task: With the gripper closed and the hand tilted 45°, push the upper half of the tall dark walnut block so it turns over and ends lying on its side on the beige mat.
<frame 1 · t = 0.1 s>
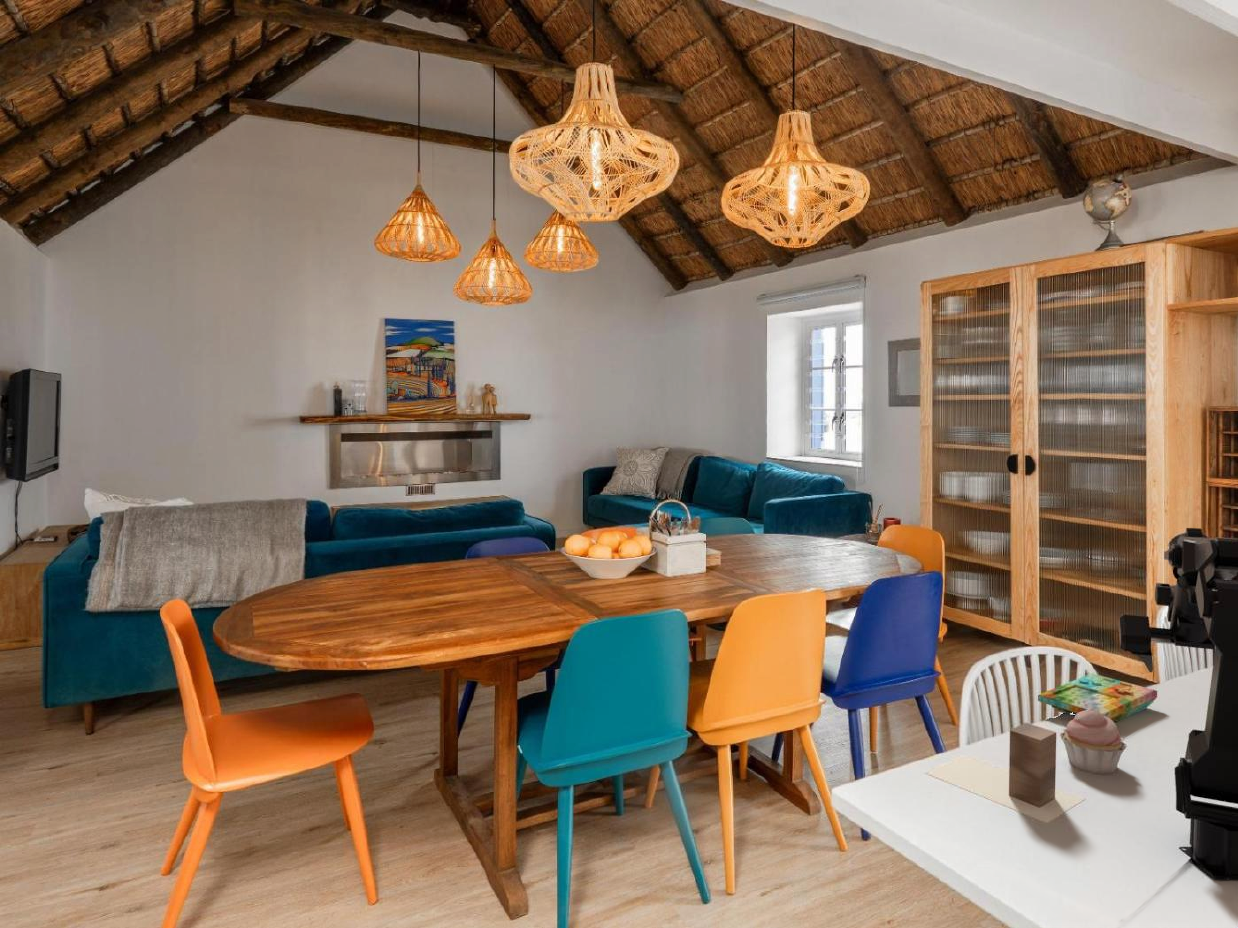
hand: (1185, 673, 126), 15 cm above the table, tool tilted 35°, fingers open, 9 cm apart
cupcake: (1091, 769, 127), on the table
puzzle game: (1097, 713, 150), on the table
beige mat: (1001, 789, 120), on the table
walnut block: (1031, 796, 117), point 1 cm above the table, touching beige mat
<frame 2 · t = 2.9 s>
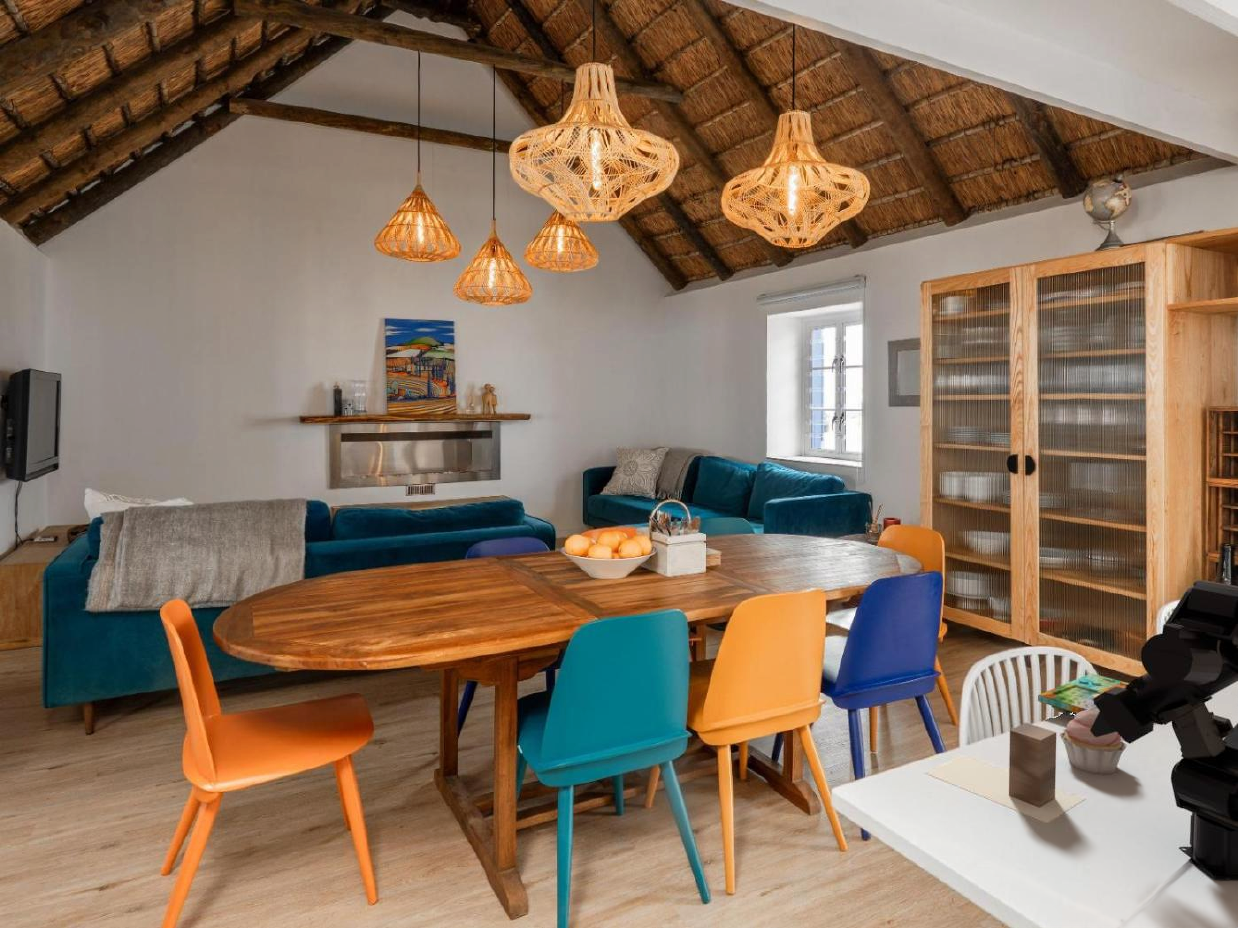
hand: (1097, 731, 108), 14 cm above the table, tool tilted 45°, fingers closed
nothing on the table moved.
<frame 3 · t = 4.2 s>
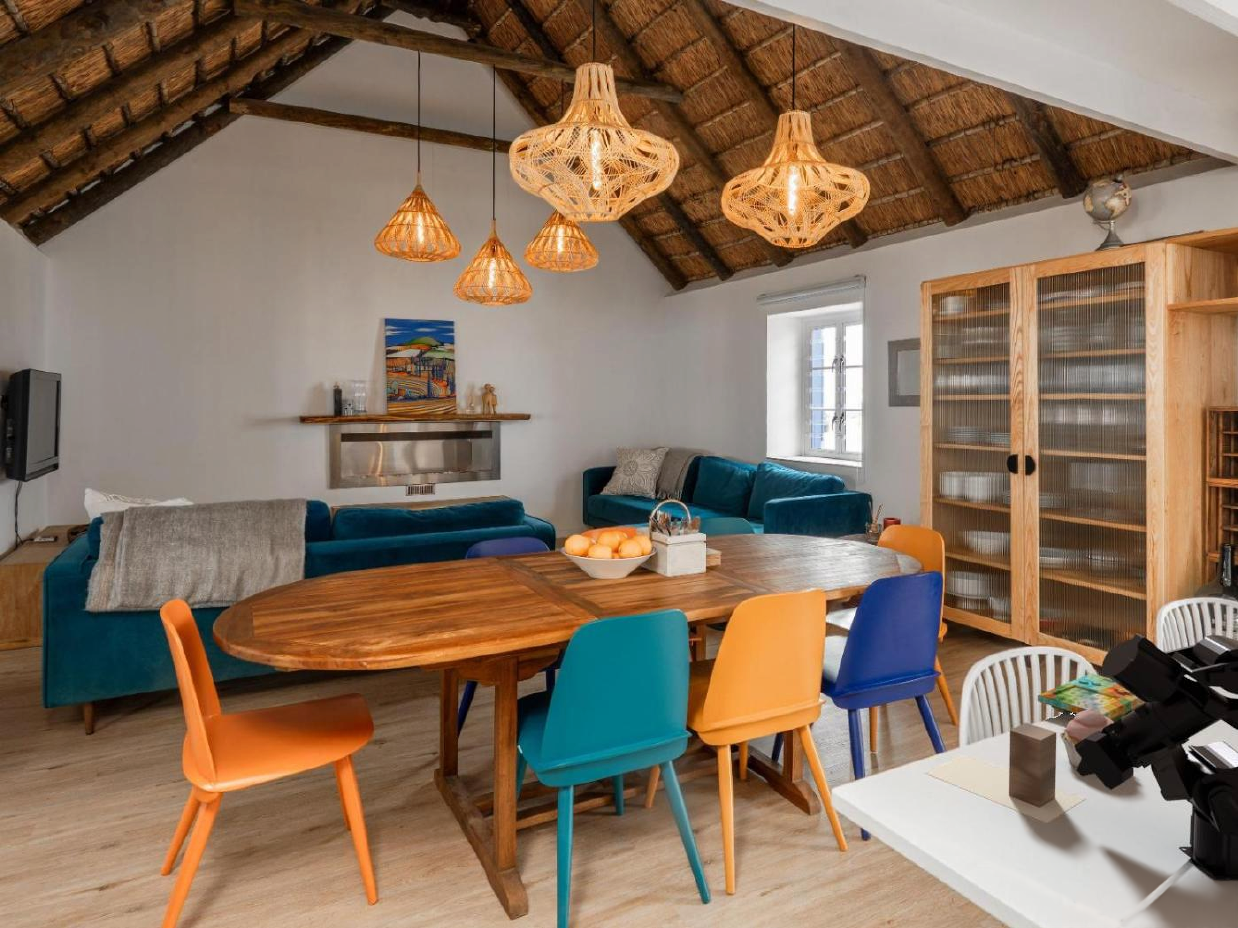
hand: (1080, 772, 110), 7 cm above the table, tool tilted 45°, fingers closed
nothing on the table moved.
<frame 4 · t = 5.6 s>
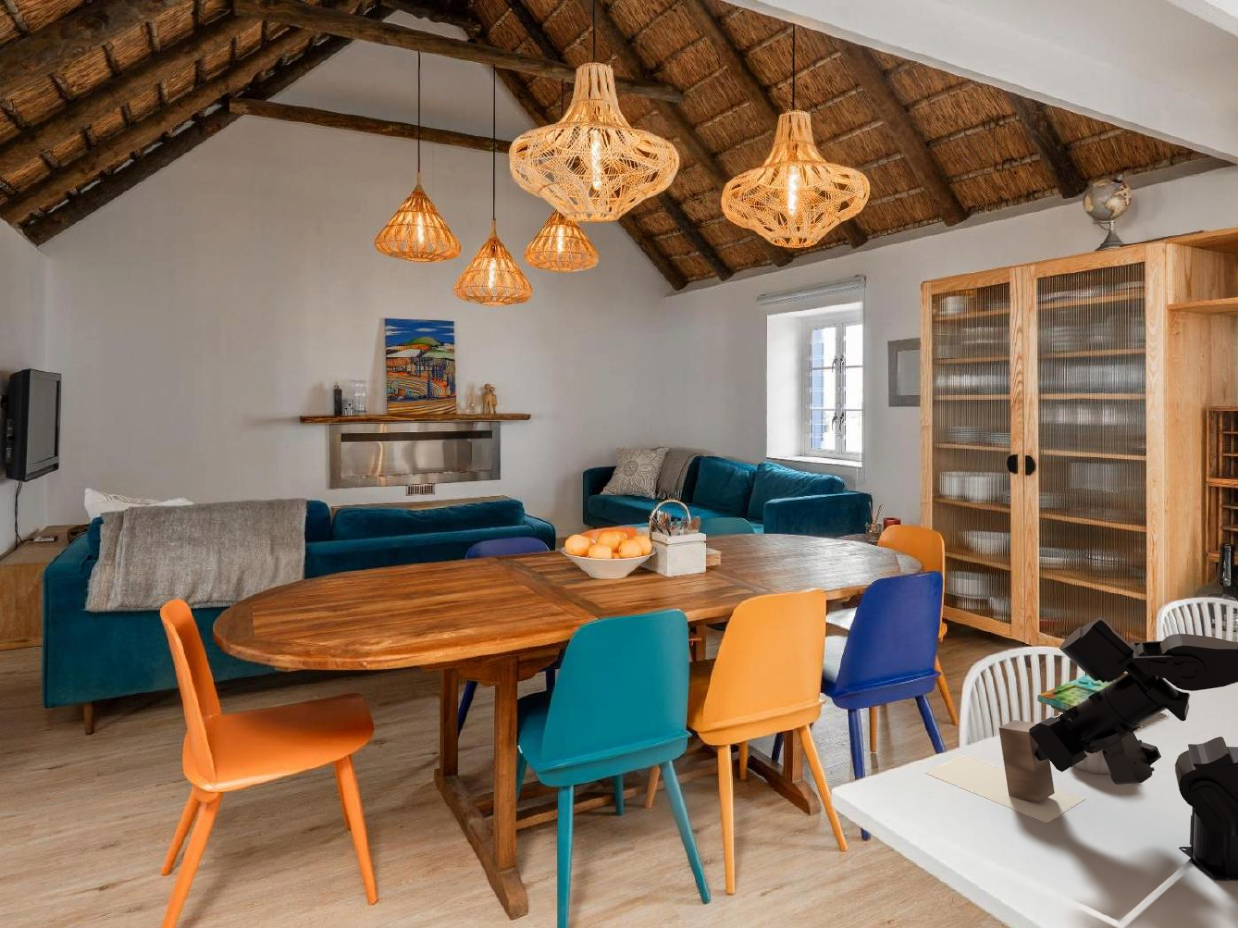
hand: (1038, 757, 114), 7 cm above the table, tool tilted 45°, fingers closed
walnut block: (1031, 794, 117), point 1 cm above the table, tilted 10°, touching beige mat
everything else where it was.
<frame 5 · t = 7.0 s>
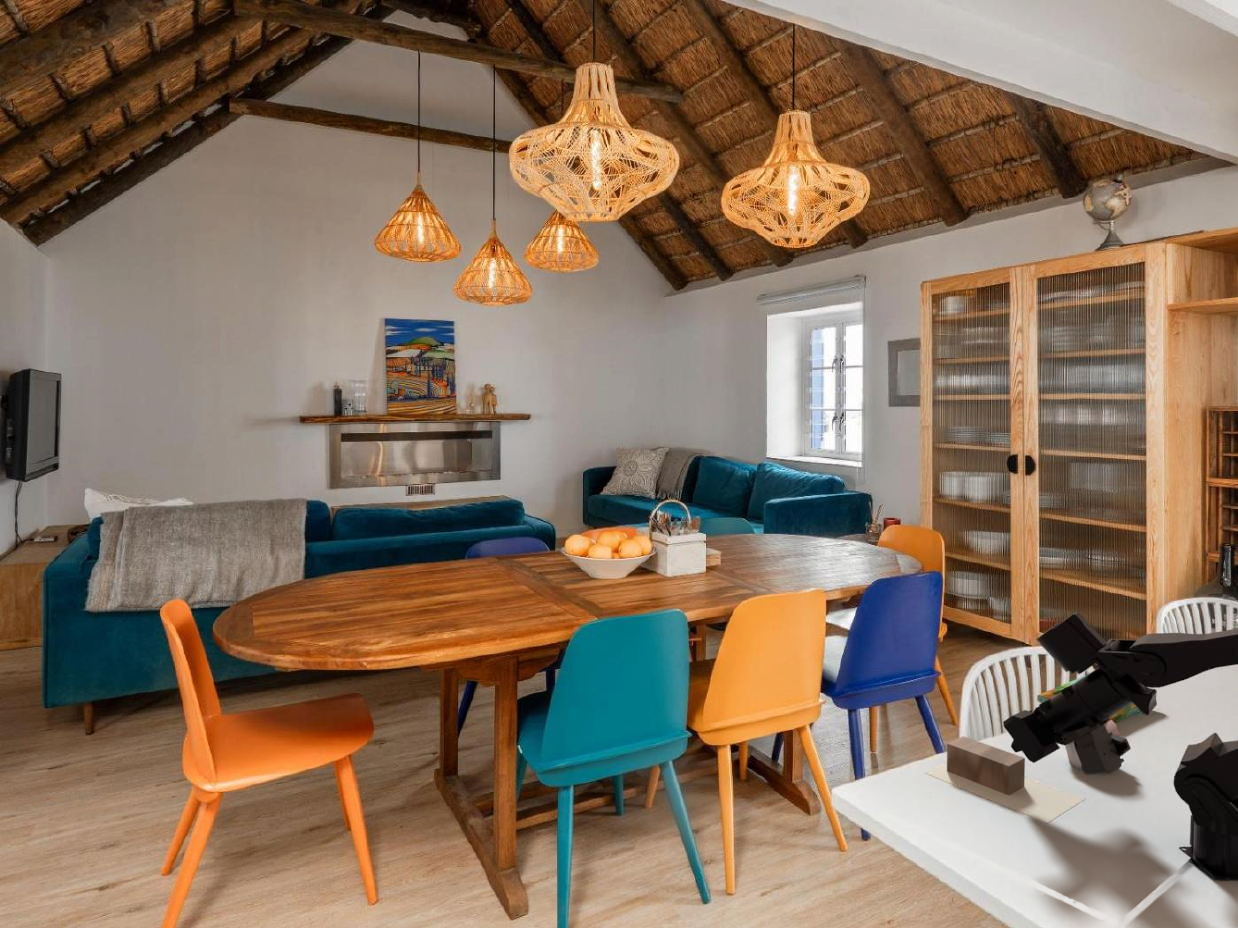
hand: (1014, 748, 119), 7 cm above the table, tool tilted 45°, fingers closed
walnut block: (1016, 776, 118), point 3 cm above the table, tilted 90°, touching beige mat
everything else where it was.
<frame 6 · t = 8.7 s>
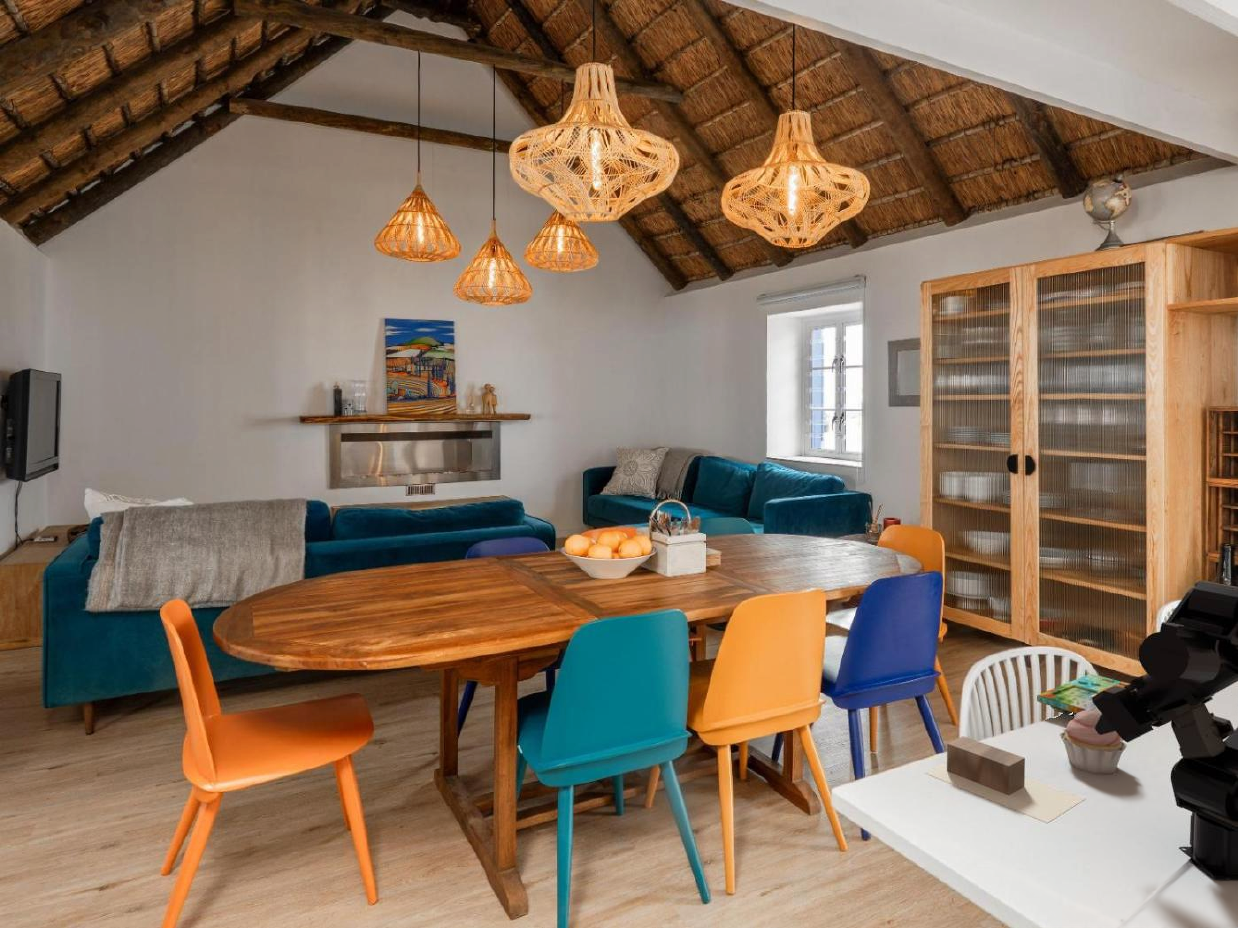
hand: (1098, 731, 109), 14 cm above the table, tool tilted 45°, fingers closed
nothing on the table moved.
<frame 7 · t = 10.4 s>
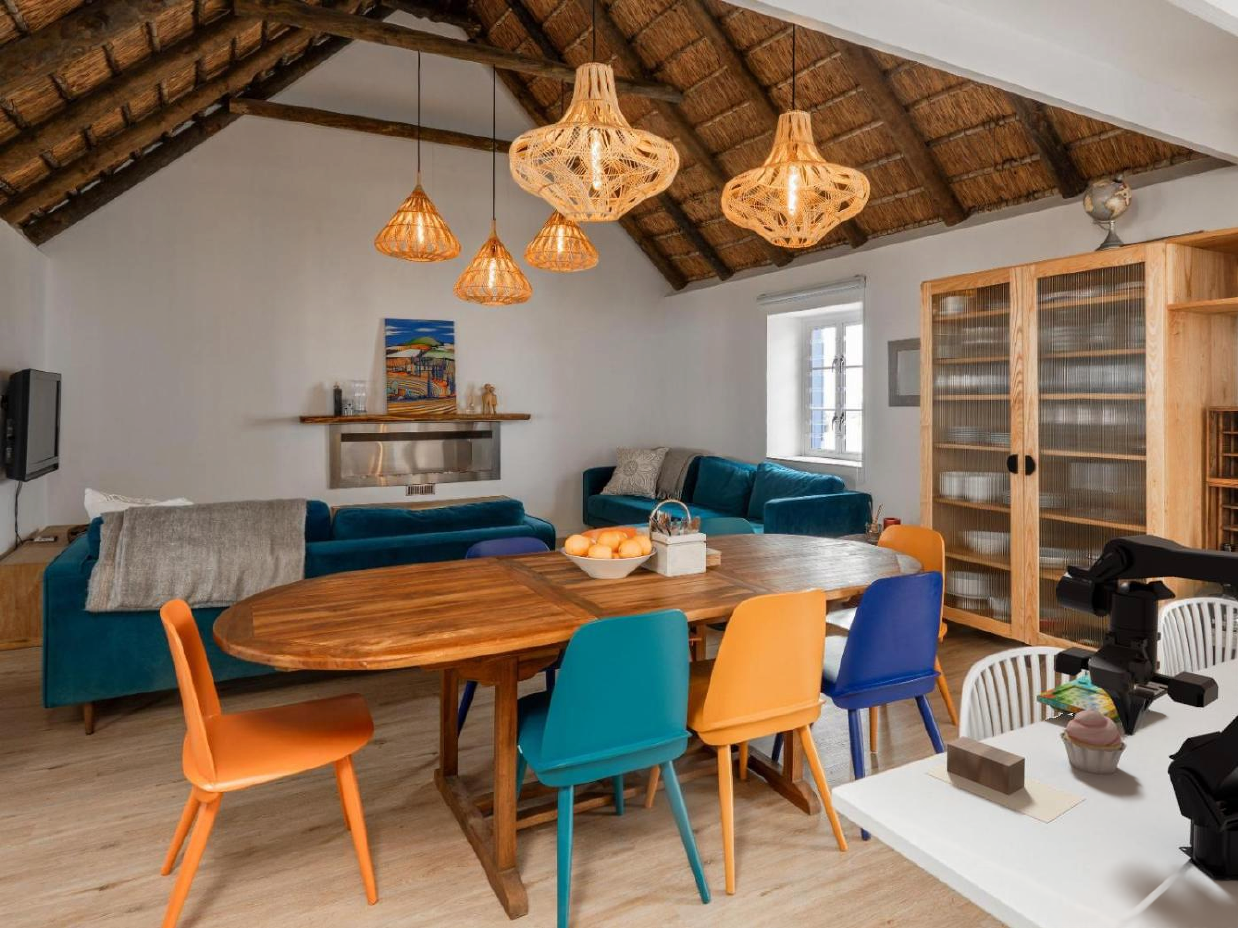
hand: (1129, 734, 111), 12 cm above the table, tool pointing down, fingers closed
nothing on the table moved.
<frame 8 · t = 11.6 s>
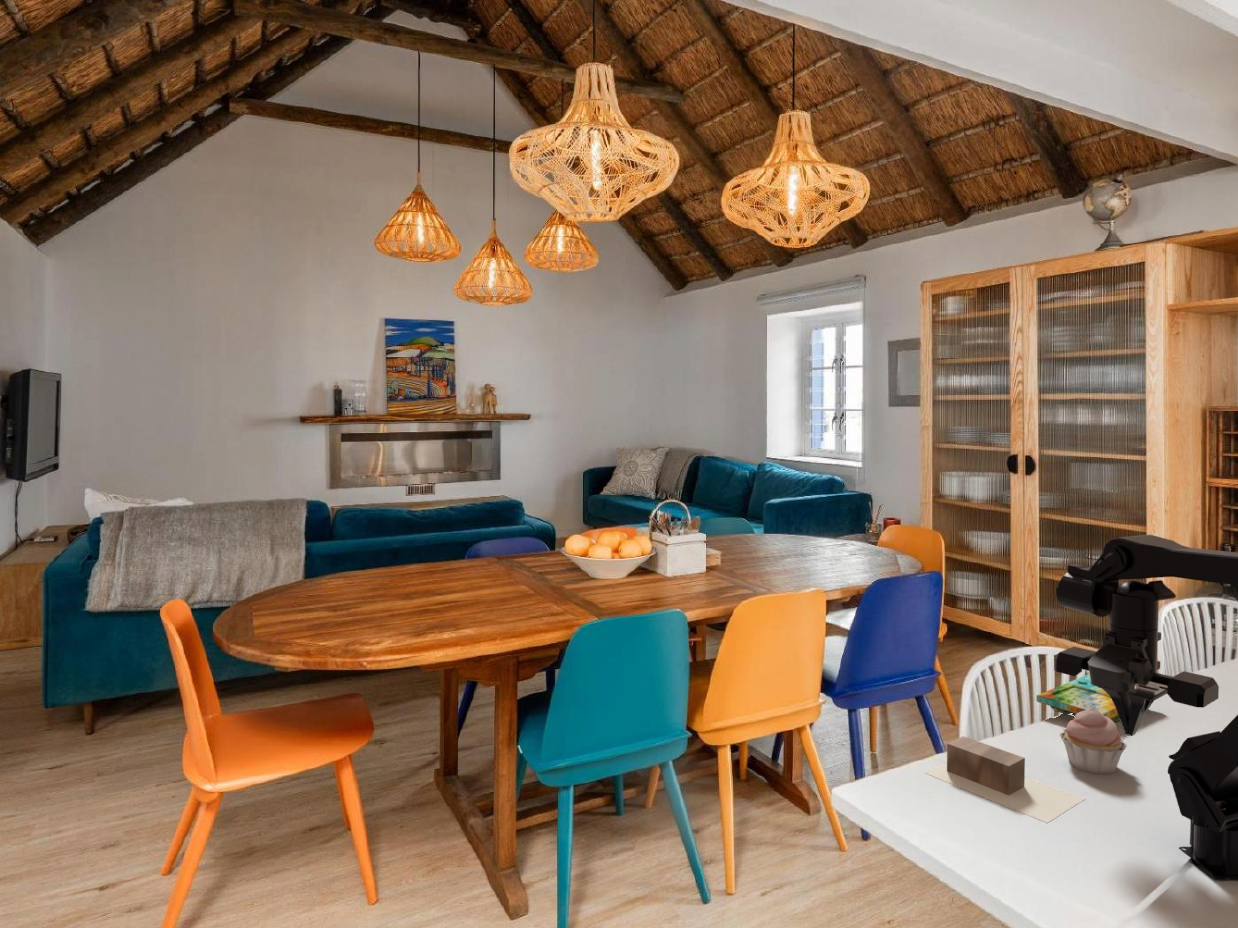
hand: (1130, 734, 111), 12 cm above the table, tool pointing down, fingers closed
nothing on the table moved.
at the end: walnut block tilted 90°; walnut block 2.2 cm from the beige mat (horizontally); walnut block touching beige mat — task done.
